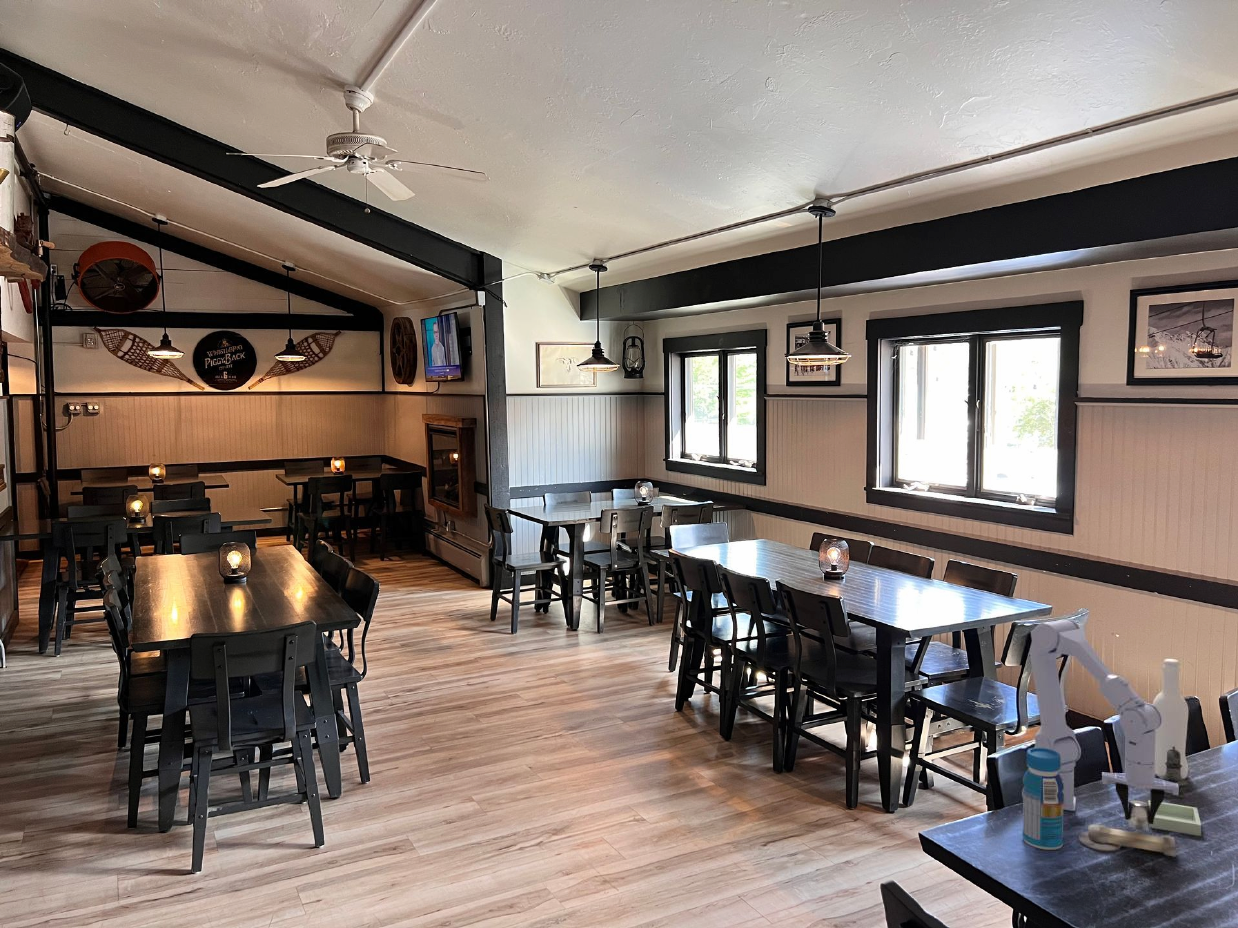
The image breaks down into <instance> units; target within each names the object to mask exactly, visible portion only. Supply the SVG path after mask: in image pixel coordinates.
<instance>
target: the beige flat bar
mask: <svg viewBox="0 0 1238 928" xmlns="http://www.w3.org/2000/svg"><path fill="white" fill-rule="evenodd" d="M1087 829H1088V830H1087V831H1088V837H1089V838H1090V839H1091V840H1093V841H1096V842H1100V843H1113V844H1119V845H1120V846H1126V847H1130V848H1136V849H1143V850H1146V851H1147V850H1148V851H1153V852H1159V853H1163V854H1164V856H1170V857H1177V855H1176V852H1177V850H1176V849H1177V848H1176V842H1175V837H1174V836H1170V835H1162V836H1158V835H1152V834H1147V833H1140V832H1135V831H1129V830H1123V829H1117V828H1113V827H1112V828H1111V827H1107V826H1105V825H1102V824H1089V825H1088V827H1087Z"/></svg>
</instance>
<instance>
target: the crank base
mask: <svg viewBox="0 0 1238 928" xmlns="http://www.w3.org/2000/svg"><path fill="white" fill-rule="evenodd" d="M1078 841H1079V842H1080V843H1081V844H1082V845H1084V846H1085V847H1086V848H1089V849H1092V850H1094V851H1095V850H1096V851H1101V852H1115V851H1118V850H1120V849H1121V845H1119V844H1113V843H1100V842H1096V841H1093V840H1091V839H1090V838H1089V837H1088V830H1087V831H1083V832H1080V833H1079V835H1078Z"/></svg>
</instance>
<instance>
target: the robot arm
mask: <svg viewBox="0 0 1238 928" xmlns="http://www.w3.org/2000/svg"><path fill="white" fill-rule="evenodd" d="M1030 637H1031V644H1030V649H1029V658H1030V663H1031V670H1032V676H1033V682H1034V688H1035V693H1036V694H1035V695H1036V701H1037V707H1038V713H1039V720H1040V727H1039V729H1037V732H1036V733H1035V735H1034V740H1035V741H1034V747H1033V748H1046V749H1050V750H1053V751H1056V752H1057V753H1059V754H1060V758H1061V765H1060V770H1059V771H1058V773H1059V775H1060V776H1061V778H1062V780H1063V783H1064V789H1063V791H1062V792H1063V794H1064V797H1065V802H1064V804H1063V811H1064V810H1065V811H1070V812H1076V803H1077V802H1076V800H1077V798H1076V796H1074V795H1075V793H1074V792H1075V785H1074V784H1075V781H1074V779H1075V767H1076V762H1077V761H1079V760H1080V759H1081V754H1082V748H1081V746H1080V743H1079V742H1078V740H1077V738H1076V735H1075V731H1074V730H1073V729H1072V728H1070V727H1069V726H1068V725H1067V721H1066V716H1065V715H1066V714H1065V710H1064V709H1065V708H1064V702H1063V696H1062V689H1061V684H1060V678H1059V671H1058V666H1057V658H1059V656H1060V655H1061V654H1062V655H1066V656H1071V657H1074V658H1075V659H1076V660H1077V661H1078V663H1079V664H1080V665H1082V666H1083V668H1085V670H1086V671H1087V672H1088V673H1089V674H1090V675H1091V676H1092V677H1093V678H1094V679H1095V680H1096V681H1097V682H1098V684H1099V687H1098V690H1099V691H1098V692H1100V694H1101V695H1102V696H1103V697H1104V698H1105V700H1106V701H1107V702H1108V703H1109V704H1110V705H1111V706H1112V707H1113V709H1114V710H1115V712H1116V713H1118V715H1119V716H1120V717H1119V718H1118V719H1119V724H1120V726H1121V727H1122V729H1123V732H1124V735H1123V736H1124V737H1125V743H1124V744H1125V745H1124V746H1125V749H1124V751H1125V752H1124V773H1122V772H1121V773H1120V772H1119V773H1118V772H1106V771H1105V772H1103V771H1102V772H1101V776H1102V777H1101V784H1103V785H1108V784H1110V785H1115V792H1116V794H1117V796H1118V798H1119V800H1120V803H1121V805H1122V809H1123V813H1124V819H1125V821H1126V820H1127V821H1128V820H1129V788H1135V789H1138V790H1149V793H1150V795H1149V797H1150V798H1149V800H1150V817H1149V825H1150V824H1153V822H1154V817H1155V814H1156V812H1157V810H1158V808H1159V806H1160V805H1161V803H1162V802H1164V801H1165V800H1164V799H1165V797H1166V796H1165V795H1164V792H1167V793H1172V794H1173V795H1179V786H1178V783H1172V782H1168V781H1164V780H1160V779H1159V778H1156V775H1155V742H1156V731H1154V730H1155V729H1157V728H1159V727H1160V725H1161V723H1162V718H1161V715H1160V713H1159V711H1158V710H1157V708H1156V707H1155V706H1154V705H1153V703H1149V702H1146V701H1145V700H1144V699H1143V698H1141V697H1140V696H1139V695H1138V694H1137V692H1135V690H1134V689H1133V688H1132V687H1131V686H1130V682H1129V681H1128V680H1127V679H1126V678H1123V677H1122V676H1121V675H1116V674H1113V673H1112V671H1110V669H1109V668H1108V667H1107V665H1106V664H1105V662H1104V661H1103V660H1102V659H1101V657H1100V656H1099V655H1098V653H1097V652H1096V651H1095V649H1094V648H1093V647H1092V646H1091V644H1090V643H1089V642H1088V640H1087V636H1086V632H1085V631H1084V630H1083V629H1082V628H1081V627H1080V626H1079V624H1078V623H1077V622H1076V621H1075V620H1073V619H1071V618H1063V619H1060V620H1055V621H1050V622H1043V623H1039V624H1037V625H1036V626H1035V627H1034V628H1033V629H1032V630H1031V631H1030Z"/></svg>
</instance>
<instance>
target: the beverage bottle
mask: <svg viewBox="0 0 1238 928" xmlns="http://www.w3.org/2000/svg"><path fill="white" fill-rule="evenodd" d="M1026 751H1027V752H1026V760H1025V762H1026V767H1028V769H1027V770H1026V771H1025V773H1024V775H1023V777H1022V784H1023V787H1022V790H1021V797H1022V805H1023V806H1022V807H1023V808H1022V812H1023V813H1022V814H1023V815H1022V817H1023V818H1022V819H1023V820H1022V822H1023V823H1022V832H1021V833H1022V839H1023V841H1024V842H1025V843H1026V844H1027V845H1029V846H1031V847H1034V848H1036V849H1039V850H1045V851H1053V850H1059V849H1061V848H1062V847H1063V845H1064V809H1063V804H1064V802H1065V797H1064V794H1063V792H1062V791H1063V789H1064V783H1063V780H1062V778H1061V776H1060V775H1059V773H1058V771H1059V770H1060V765H1061V758H1060V754H1059V753H1057V752H1056V751H1053V750H1050V749H1046V748H1034V747H1031V748H1028V749H1027V750H1026Z"/></svg>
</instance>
